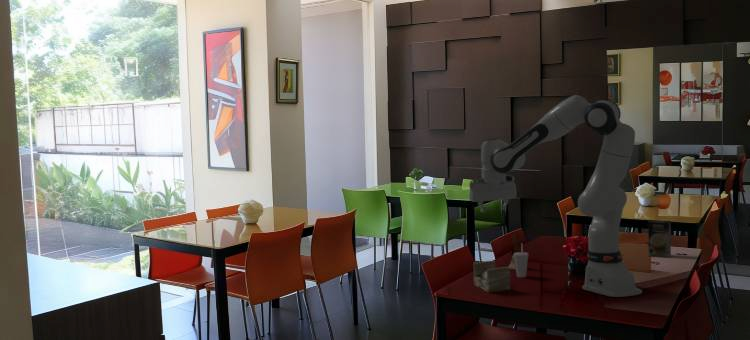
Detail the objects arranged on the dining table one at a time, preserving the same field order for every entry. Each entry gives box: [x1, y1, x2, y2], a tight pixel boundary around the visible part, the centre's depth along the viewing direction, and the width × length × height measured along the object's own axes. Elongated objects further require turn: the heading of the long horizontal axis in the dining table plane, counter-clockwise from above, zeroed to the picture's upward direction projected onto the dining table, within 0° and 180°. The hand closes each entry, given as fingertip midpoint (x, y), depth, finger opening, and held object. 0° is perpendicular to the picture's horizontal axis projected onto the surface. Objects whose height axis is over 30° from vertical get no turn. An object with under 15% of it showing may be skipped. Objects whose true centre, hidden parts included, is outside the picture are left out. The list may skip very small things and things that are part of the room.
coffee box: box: [647, 219, 672, 258], centre depth 303 cm, size 9×6×16 cm
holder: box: [472, 260, 511, 294], centre depth 260 cm, size 14×9×9 cm, turn 15°
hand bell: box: [507, 231, 520, 271], centre depth 291 cm, size 8×8×16 cm
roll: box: [481, 270, 487, 281], centre depth 260 cm, size 10×5×5 cm, turn 15°
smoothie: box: [512, 242, 529, 278], centre depth 275 cm, size 6×6×14 cm
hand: (493, 211), depth 272 cm, fingers open, 8 cm apart
